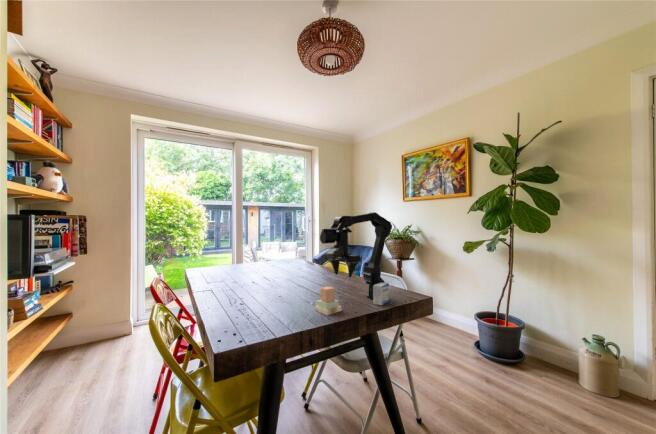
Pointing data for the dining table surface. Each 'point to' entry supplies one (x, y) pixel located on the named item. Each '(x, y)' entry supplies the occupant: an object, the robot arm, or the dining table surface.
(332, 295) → the terracotta block
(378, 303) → the medicine box
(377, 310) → the dining table surface
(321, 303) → the sage slab
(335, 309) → the maple slab
